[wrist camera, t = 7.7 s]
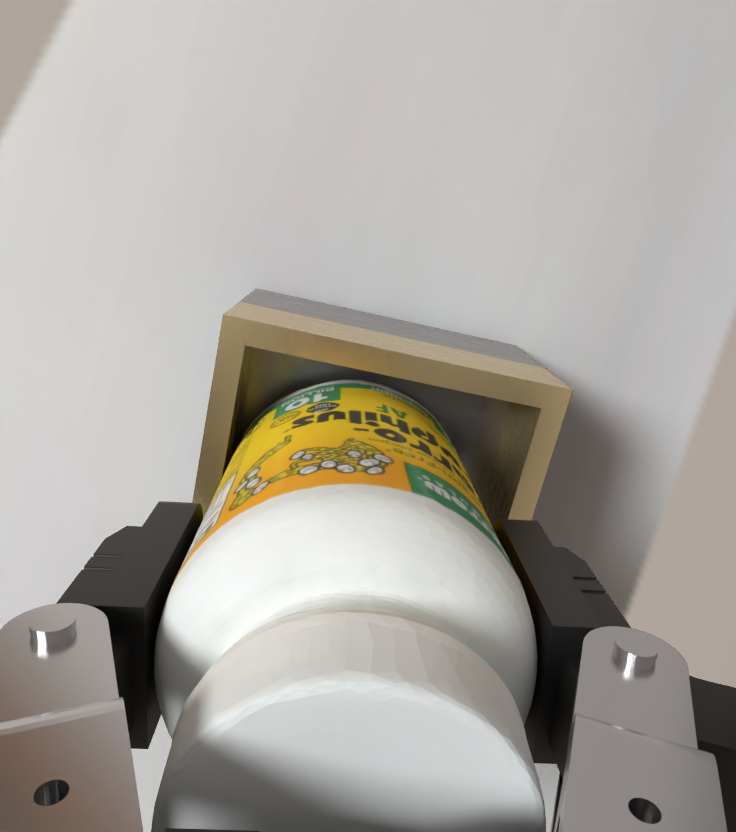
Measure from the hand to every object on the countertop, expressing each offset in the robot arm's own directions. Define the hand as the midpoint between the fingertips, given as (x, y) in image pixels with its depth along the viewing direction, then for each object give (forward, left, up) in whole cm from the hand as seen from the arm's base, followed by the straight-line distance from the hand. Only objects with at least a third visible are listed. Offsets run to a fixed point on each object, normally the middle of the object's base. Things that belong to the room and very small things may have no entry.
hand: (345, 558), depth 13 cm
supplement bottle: (0, 0, -4) cm, 4 cm away
